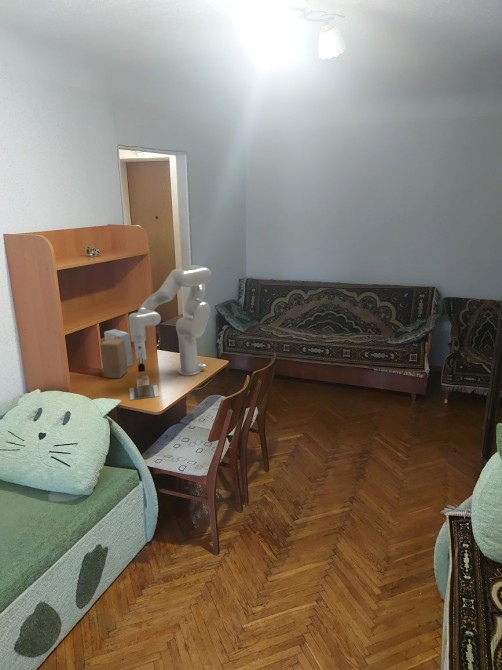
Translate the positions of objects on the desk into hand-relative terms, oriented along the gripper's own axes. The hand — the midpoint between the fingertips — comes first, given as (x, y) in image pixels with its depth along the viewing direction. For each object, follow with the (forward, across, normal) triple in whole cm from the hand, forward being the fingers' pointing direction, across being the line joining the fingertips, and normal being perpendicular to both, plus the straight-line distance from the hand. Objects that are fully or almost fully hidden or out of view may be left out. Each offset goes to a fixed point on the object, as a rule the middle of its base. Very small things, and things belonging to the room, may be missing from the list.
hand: (141, 371), depth 236 cm
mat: (+9, -7, 0) cm, 11 cm away
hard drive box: (+9, +38, +12) cm, 41 cm away
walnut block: (+6, +1, 0) cm, 6 cm away
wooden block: (+9, +22, +14) cm, 28 cm away
